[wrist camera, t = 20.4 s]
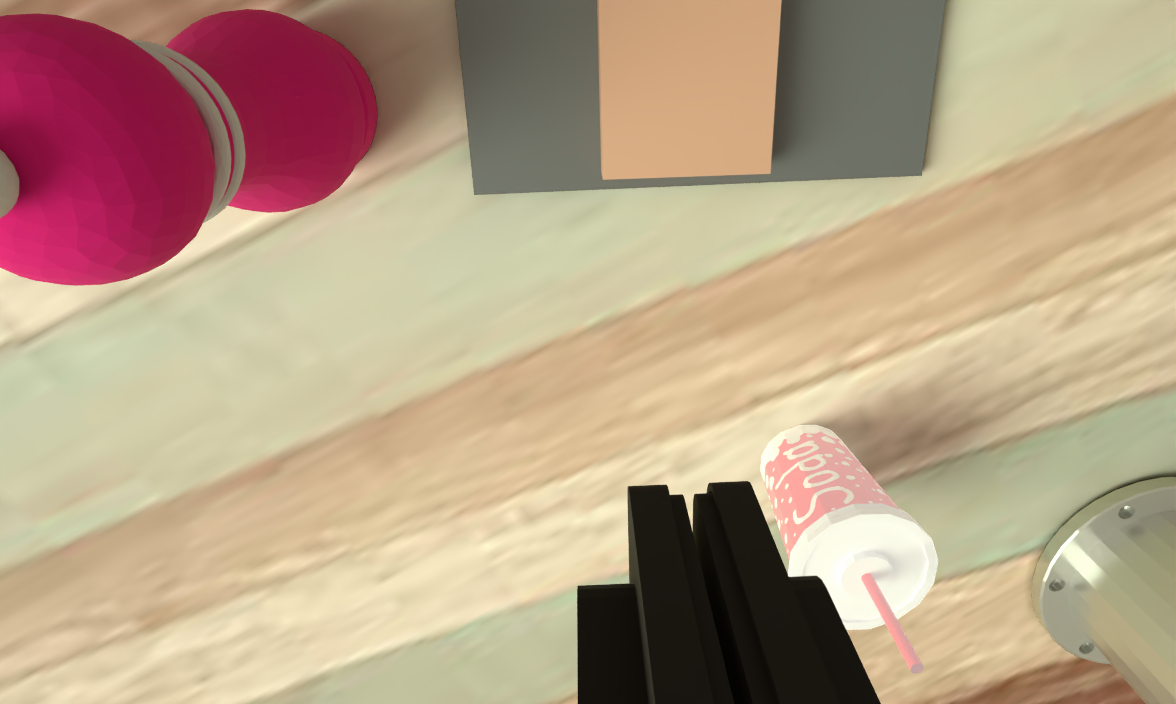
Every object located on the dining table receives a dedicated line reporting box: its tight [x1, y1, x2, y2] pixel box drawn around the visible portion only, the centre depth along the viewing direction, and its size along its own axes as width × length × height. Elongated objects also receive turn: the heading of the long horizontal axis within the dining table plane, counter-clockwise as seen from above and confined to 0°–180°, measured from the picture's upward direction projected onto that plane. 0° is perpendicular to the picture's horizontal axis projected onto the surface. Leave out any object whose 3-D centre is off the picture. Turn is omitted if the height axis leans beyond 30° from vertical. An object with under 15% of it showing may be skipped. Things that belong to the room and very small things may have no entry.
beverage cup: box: [760, 425, 938, 673], centre depth 32 cm, size 6×6×14 cm
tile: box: [597, 0, 782, 180], centre depth 30 cm, size 2×8×7 cm
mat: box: [455, 0, 945, 195], centre depth 30 cm, size 20×14×1 cm
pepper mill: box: [0, 9, 377, 285], centre depth 22 cm, size 7×7×20 cm
